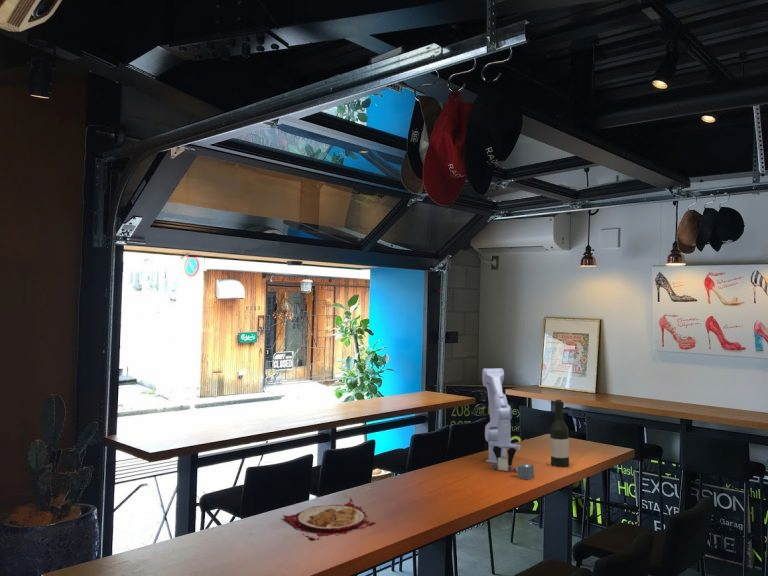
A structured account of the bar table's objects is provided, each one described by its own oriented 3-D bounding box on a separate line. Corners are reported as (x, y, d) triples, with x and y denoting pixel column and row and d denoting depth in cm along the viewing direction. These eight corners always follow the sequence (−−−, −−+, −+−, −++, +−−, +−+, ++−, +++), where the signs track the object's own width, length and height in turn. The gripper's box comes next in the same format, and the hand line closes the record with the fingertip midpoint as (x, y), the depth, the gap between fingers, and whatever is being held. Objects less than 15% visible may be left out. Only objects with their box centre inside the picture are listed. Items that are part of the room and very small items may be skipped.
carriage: (502, 467, 272) (501, 455, 272) (511, 468, 270) (511, 456, 270) (498, 469, 268) (497, 458, 268) (507, 471, 266) (507, 459, 266)
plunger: (513, 471, 260) (513, 465, 260) (522, 472, 258) (522, 466, 258) (511, 472, 258) (511, 466, 258) (520, 474, 256) (520, 467, 256)
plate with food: (282, 521, 207) (282, 510, 207) (350, 505, 220) (350, 496, 221) (311, 544, 186) (311, 533, 186) (384, 526, 199) (384, 515, 199)
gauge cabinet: (522, 475, 260) (522, 462, 260) (533, 476, 257) (533, 464, 257) (517, 478, 255) (517, 465, 255) (529, 479, 252) (528, 467, 252)
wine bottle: (571, 467, 272) (570, 401, 274) (553, 467, 272) (551, 401, 274) (566, 462, 280) (565, 398, 282) (548, 462, 281) (547, 398, 282)
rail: (494, 467, 273) (494, 463, 273) (532, 472, 263) (532, 468, 264) (491, 468, 271) (491, 464, 271) (530, 474, 261) (530, 469, 261)
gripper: (485, 433, 270) (486, 464, 269) (516, 437, 262) (517, 468, 262) (491, 431, 276) (492, 461, 275) (522, 434, 268) (522, 465, 268)
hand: (504, 464), depth 269 cm, fingers closed on carriage, 4 cm apart
